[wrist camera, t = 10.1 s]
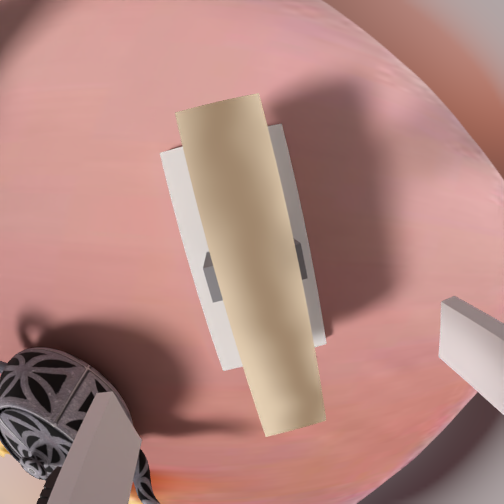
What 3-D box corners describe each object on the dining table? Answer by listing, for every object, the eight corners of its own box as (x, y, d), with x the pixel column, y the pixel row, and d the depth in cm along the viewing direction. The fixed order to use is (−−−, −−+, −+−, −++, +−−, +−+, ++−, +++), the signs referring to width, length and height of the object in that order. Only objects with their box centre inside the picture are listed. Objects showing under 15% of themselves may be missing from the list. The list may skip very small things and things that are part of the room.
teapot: (151, 477, 39) (140, 550, 24) (-11, 377, 33) (-59, 429, 18) (210, 412, 36) (209, 506, 22) (8, 284, 30) (-68, 330, 16)
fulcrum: (223, 365, 35) (223, 403, 28) (162, 154, 29) (144, 145, 22) (323, 339, 35) (344, 371, 28) (279, 125, 30) (295, 109, 23)
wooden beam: (257, 394, 28) (265, 436, 22) (186, 129, 22) (175, 112, 17) (308, 380, 28) (326, 420, 22) (250, 114, 23) (258, 93, 17)
